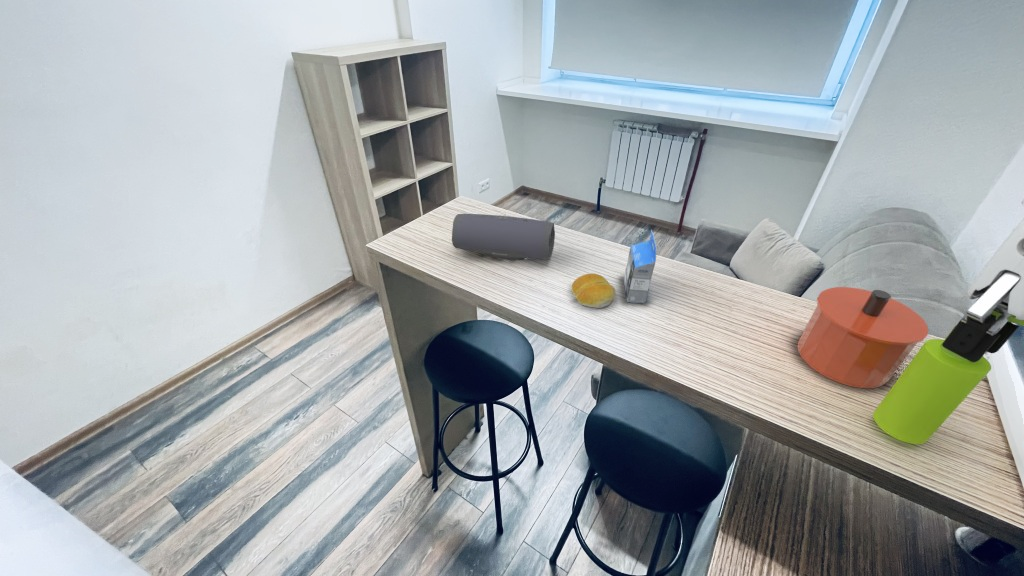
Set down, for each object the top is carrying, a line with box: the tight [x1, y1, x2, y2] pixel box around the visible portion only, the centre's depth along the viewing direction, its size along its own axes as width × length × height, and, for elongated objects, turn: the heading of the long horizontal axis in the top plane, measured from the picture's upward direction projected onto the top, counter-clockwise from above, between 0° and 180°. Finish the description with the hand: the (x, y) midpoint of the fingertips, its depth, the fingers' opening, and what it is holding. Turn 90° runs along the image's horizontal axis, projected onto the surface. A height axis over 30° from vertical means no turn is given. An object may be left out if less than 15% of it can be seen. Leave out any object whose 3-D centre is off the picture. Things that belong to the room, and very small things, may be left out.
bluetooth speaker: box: [451, 213, 556, 262], centre depth 95 cm, size 23×9×10 cm, turn 76°
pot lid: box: [816, 286, 929, 345], centre depth 61 cm, size 14×14×5 cm
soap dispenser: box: [872, 311, 1024, 445], centre depth 50 cm, size 6×7×20 cm
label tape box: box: [623, 229, 658, 304], centre depth 81 cm, size 9×4×12 cm, turn 171°
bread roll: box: [571, 273, 616, 309], centre depth 82 cm, size 8×9×4 cm
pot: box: [797, 304, 918, 389], centre depth 65 cm, size 13×13×10 cm
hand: (968, 348), depth 47 cm, fingers closed on soap dispenser, 3 cm apart
